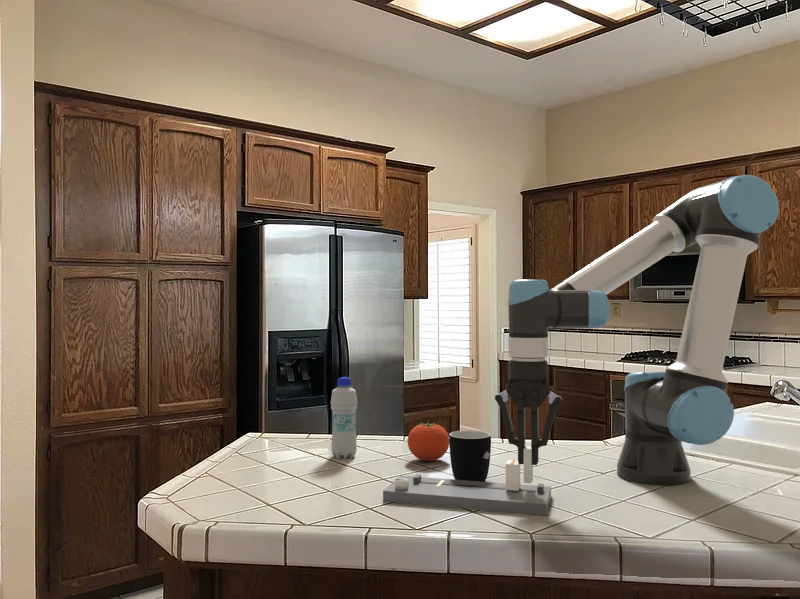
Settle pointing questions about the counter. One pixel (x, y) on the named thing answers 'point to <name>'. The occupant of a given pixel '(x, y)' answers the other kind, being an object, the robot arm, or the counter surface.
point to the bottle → (344, 419)
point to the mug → (470, 455)
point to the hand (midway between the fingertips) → (528, 481)
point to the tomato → (428, 441)
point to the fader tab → (512, 475)
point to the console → (469, 494)
